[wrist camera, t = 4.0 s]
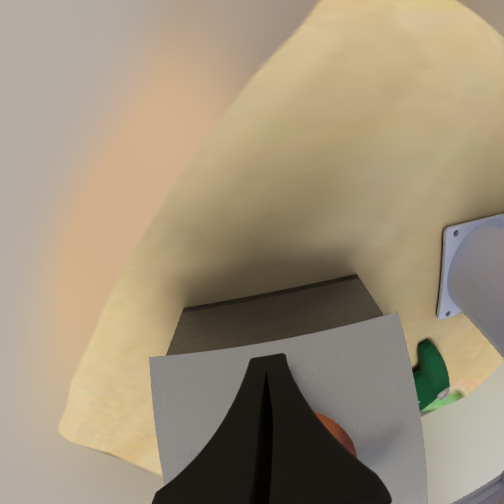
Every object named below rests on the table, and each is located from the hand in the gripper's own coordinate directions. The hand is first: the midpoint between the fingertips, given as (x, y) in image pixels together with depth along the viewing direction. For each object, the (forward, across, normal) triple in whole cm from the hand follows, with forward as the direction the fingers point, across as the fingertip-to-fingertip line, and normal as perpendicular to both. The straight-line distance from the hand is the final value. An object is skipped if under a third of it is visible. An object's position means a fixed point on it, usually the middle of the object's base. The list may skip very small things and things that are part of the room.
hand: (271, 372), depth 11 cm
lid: (-2, 0, +5) cm, 5 cm away
